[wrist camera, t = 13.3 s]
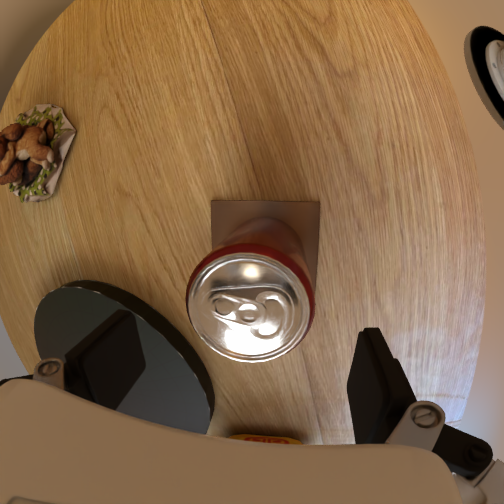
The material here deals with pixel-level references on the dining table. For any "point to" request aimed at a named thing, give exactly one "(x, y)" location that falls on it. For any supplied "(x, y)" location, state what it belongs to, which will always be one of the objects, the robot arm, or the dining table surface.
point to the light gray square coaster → (291, 212)
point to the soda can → (253, 292)
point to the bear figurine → (35, 152)
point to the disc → (153, 345)
